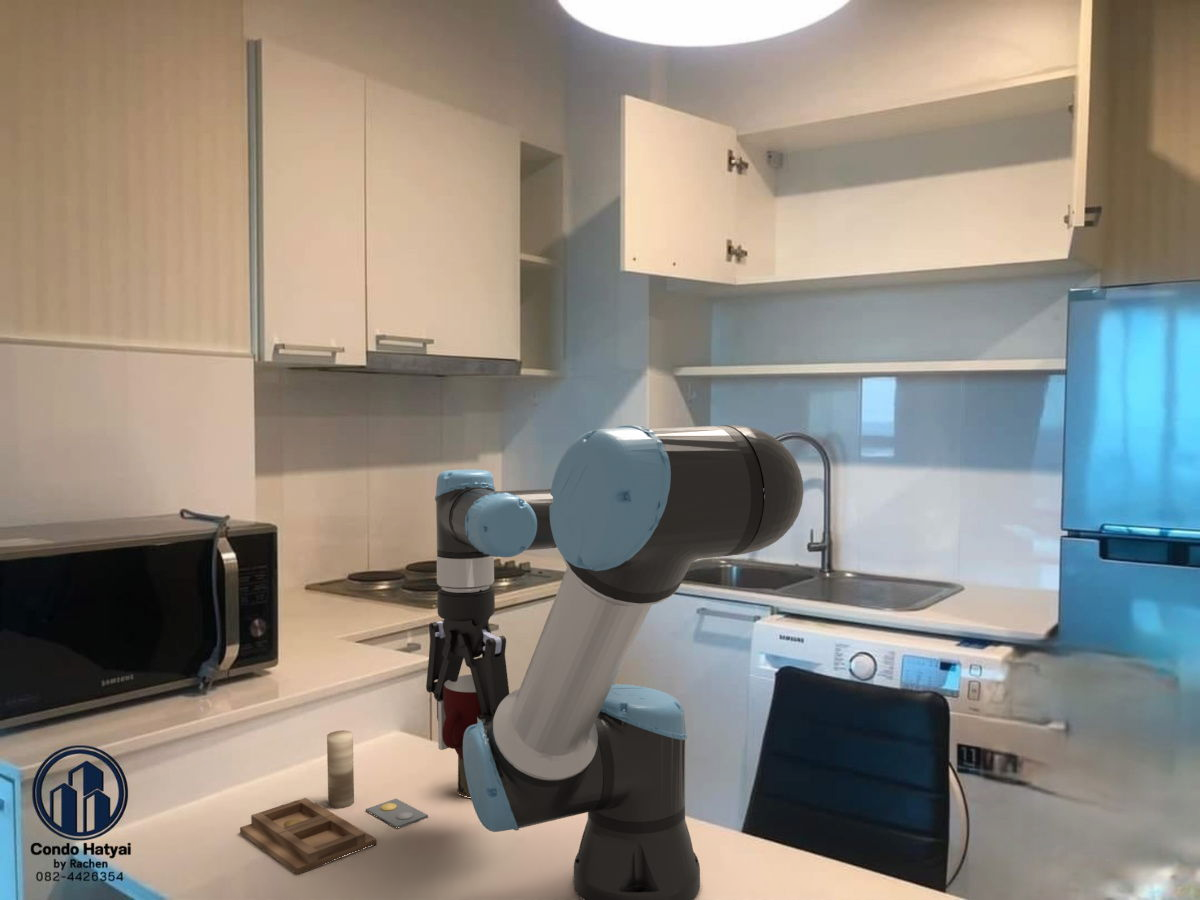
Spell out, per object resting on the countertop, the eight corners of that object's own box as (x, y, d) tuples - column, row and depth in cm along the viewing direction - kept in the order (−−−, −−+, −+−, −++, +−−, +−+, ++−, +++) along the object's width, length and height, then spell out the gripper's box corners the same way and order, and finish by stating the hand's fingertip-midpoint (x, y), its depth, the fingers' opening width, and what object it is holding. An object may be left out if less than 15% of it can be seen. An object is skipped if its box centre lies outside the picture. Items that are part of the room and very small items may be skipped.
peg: (358, 802, 136) (357, 734, 135) (336, 810, 133) (335, 741, 133) (345, 795, 138) (344, 728, 138) (323, 802, 136) (322, 734, 135)
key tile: (428, 817, 131) (428, 813, 131) (397, 828, 127) (397, 825, 127) (396, 800, 137) (396, 797, 137) (365, 811, 133) (365, 807, 133)
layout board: (376, 844, 123) (376, 829, 123) (297, 874, 115) (297, 858, 115) (315, 808, 134) (315, 794, 134) (240, 833, 126) (239, 818, 126)
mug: (480, 778, 119) (480, 701, 118) (423, 770, 122) (422, 694, 121) (513, 749, 129) (513, 677, 128) (460, 742, 132) (460, 671, 131)
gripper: (539, 593, 120) (540, 768, 121) (442, 572, 134) (444, 729, 136) (493, 602, 114) (494, 785, 116) (397, 579, 129) (400, 742, 130)
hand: (467, 755), depth 126 cm, fingers closed on mug, 8 cm apart
